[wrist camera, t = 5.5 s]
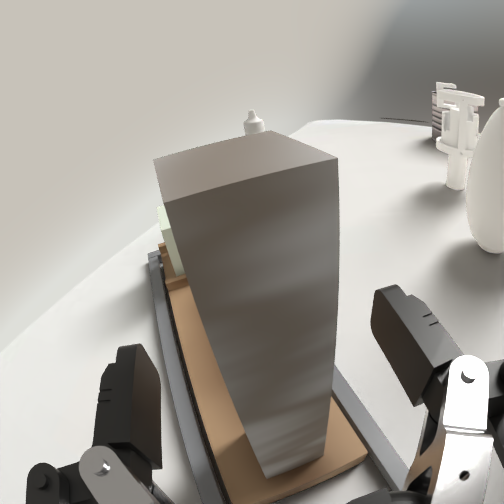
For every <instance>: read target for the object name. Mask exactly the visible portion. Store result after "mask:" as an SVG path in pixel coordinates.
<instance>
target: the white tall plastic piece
mask: <svg viewBox="0 0 504 504" xmlns="http://www.w3.org/2000/svg"><path fill="white" fill-rule="evenodd" d="M451 85H452V86H451ZM436 86H437V107H441V108H448V109H450V111H442V133H441V137H438V138H436V148H437V149H438V150H440V151H442V152H444V153H447V154H449V156H448V168H447V179H446V186H447V187H449V188H451V189H454V190H464V189H465V181H466V172H467V163H468V158H472V157H473V153H474V150H475V148H476V145H477V142H478V126H479V115H478V114H475V113H474V107H472V106H468V105H474V106H484V97H482V96H479V95H476V94H471V93H467V92H461V91H454V90H446V89H443V87H448V88H455V89H456V85H454V84H453V83H449V84H447V83H440V82H436ZM444 100H446V101H451V102H455V105H451V104H444Z"/></svg>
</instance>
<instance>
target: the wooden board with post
mask: <svg viewBox="0 0 504 504" xmlns="http://www.w3.org/2000/svg"><path fill="white" fill-rule="evenodd" d="M153 161H154V165H155V170H156V173H157V178H158V182H159V187H160V191H161V194H162V199H163V203H164V206H165V210H166V213H167V217H168V220H169V223H170V227H171V230H172V233H173V237H174V240H175V243H176V246H177V249H178V253H179V256H180V259H181V262H182V265H183V268H184V271H185V274H182V275H179V276H176V274H175V271H174V268H173V265H172V262H171V259H170V256H169V253H168V250H167V247H166V244H165V242H164V243H161V244H158V247H159V250H160V253H161V257H162V262H163V267H164V272H165V277H166V280H165V283H166V286H167V289H168V292H169V296H170V300H171V305H172V309H173V314H174V318H175V322H176V326H177V330H178V334H179V338H180V342H181V346H182V350H183V354H184V358H185V362H186V365H187V369H188V373H189V376H190V380H191V383H192V387H193V390H194V394H195V397H196V401H197V404H198V407H199V411H200V414H201V417H202V420H203V423H204V427H205V430H206V433H207V436H208V439H209V442H210V445H211V448H212V451H213V454H214V457H215V460H216V462H217V465H218V468H219V471H220V474H221V476H222V479H223V482H224V484H225V487H226V490H227V492H228V495H229V498H230V500H231V503H232V504H269V503H272V502H275V501H277V500H280V499H283V498H285V497H288V496H290V495H293V494H295V493H298V492H300V491H303V490H305V489H307V488H310V487H312V486H314V485H316V484H319V483H321V482H323V481H325V480H327V479H329V478H332V477H334V476H336V475H338V474H340V473H342V472H344V471H346V470H348V469H350V468H351V467H353V466H355V465H357V464H359V463H361V462H363V461H364V459H365V457H366V456H367V454H368V451H367V450H366V448H365V447H364V445H363V444H362V442H361V441H360V439H359V438H358V436H357V435H356V433H355V432H354V430H353V429H352V427H351V425H350V424H349V422H348V421H347V419H346V418H345V416H344V415H343V413H342V412H341V410H340V409H339V407H338V406H337V404H336V403H335V401H334V399H333V398H332V396H331V393H332V383H333V372H334V360H335V347H336V332H337V314H338V291H339V178H338V158H337V157H335V156H332V155H330V154H328V153H325V152H323V151H321V150H318V149H316V148H314V147H311V146H309V145H306V144H304V143H302V142H299V141H297V140H294V139H292V138H289V137H286V136H284V135H281V134H279V133H276V132H273V131H266V132H261V133H256V134H251V135H247V136H242V137H238V138H233V139H229V140H225V141H220V142H216V143H212V144H208V145H204V146H200V147H196V148H193V149H189V150H185V151H182V152H178V153H175V154H171V155H168V156H164V157H161V158H157V159H154V160H153Z"/></svg>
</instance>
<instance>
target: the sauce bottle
mask: <svg viewBox="0 0 504 504" xmlns="http://www.w3.org/2000/svg"><path fill="white" fill-rule="evenodd" d="M499 105H500V106H501V107H499V108H498V109H497V110H496V111H495V112H494V113H493V114H492V116H491V117H490V118H489V120H488V121H487V123H486V125H485V127H484V129H483V131H482V133H481V135H480V137H479V140H478V142H477V145H476V148H475V150H474V153H473V157H472V160H471V164H470V169H469V174H468V180H467V187H466V212H467V218H468V223H469V227H470V230H471V233H472V235H473V237H474V238H475V239H476V240H477V243H478V244H479V246H480V247H481V248H482V249H484V250H485V251H487V252H489V253H502V252H504V98H501V99H500V100H499Z"/></svg>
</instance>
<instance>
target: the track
mask: <svg viewBox="0 0 504 504" xmlns="http://www.w3.org/2000/svg"><path fill="white" fill-rule="evenodd" d="M148 260H149V268H150V276H151V283H152V290H153V297H154V303H155V310H156V316H157V322H158V328H159V333H160V339H161V344H162V350H163V355H164V360H165V365H166V370H167V374H168V379H169V384H170V388H171V393H172V397H173V401H174V405H175V409H176V414H177V418H178V422H179V425H180V429H181V433H182V437H183V441H184V444H185V448H186V451H187V455H188V458H189V462H190V465H191V468H192V472H193V475H194V478H195V481H196V485H197V488H198V491H199V494H200V497H201V500H202V503H203V504H226V501H225V499H224V496H223V494H222V491H221V488H220V485H219V483H218V480H217V477H216V474H215V471H214V469H213V466H212V463H211V460H210V457H209V454H208V451H207V448H206V445H205V442H204V438H203V435H202V432H201V429H200V426H199V422H198V419H197V416H196V412H195V409H194V406H193V402H192V399H191V395H190V391H189V388H188V384H187V380H186V377H185V373H184V369H183V365H182V361H181V357H180V353H179V349H178V345H177V341H176V337H175V333H174V328H173V324H172V320H171V315H170V310H169V306H168V301H167V296H166V291H165V286H164V281H163V276H162V271H161V266H160V263H162V257H161V253H160V250H157V251H154V252H151V253H148ZM331 396H332V398H333V399H334V401H335V403H336V404H337V406H338V407H339V409H340V410H341V412H342V413H343V415H344V416H345V418H346V419H347V421H348V422H349V424H350V425H351V427H352V429H353V430H354V432H355V433H356V435H357V436H358V438H359V439H360V441H361V442H362V444H363V445H364V447H365V448H366V450H367V451H368V454H369V455H370V457H371V459H372V460H373V462H374V463H375V465H376V466H377V468H378V469H379V471H380V472H381V474H382V475H383V477H384V478H385V480H386V481H387V483H388V484H389V486H390V487H391V489H392V490H393V491H402V489H403V486H404V483H405V480H406V477H407V474H408V472H409V469H408V468H407V466H406V465H405V463H404V462H403V461H402V459H401V458H400V456H399V455H398V453H397V452H396V451H395V449H394V448H393V446H392V445H391V444H390V442H389V441H388V439H387V438H386V436H385V435H384V434H383V432H382V431H381V429H380V428H379V427H378V425H377V424H376V422H375V421H374V420H373V418H372V417H371V415H370V414H369V412H368V411H367V410H366V408H365V407H364V405H363V404H362V403H361V401H360V400H359V398H358V397H357V395H356V394H355V393H354V391H353V390H352V388H351V387H350V386H349V384H348V383H347V381H346V380H345V379H344V377H343V376H342V374H341V373H340V371H339V370H338V369H337V367H336V366H335V364H334V372H333V383H332V393H331Z"/></svg>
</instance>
